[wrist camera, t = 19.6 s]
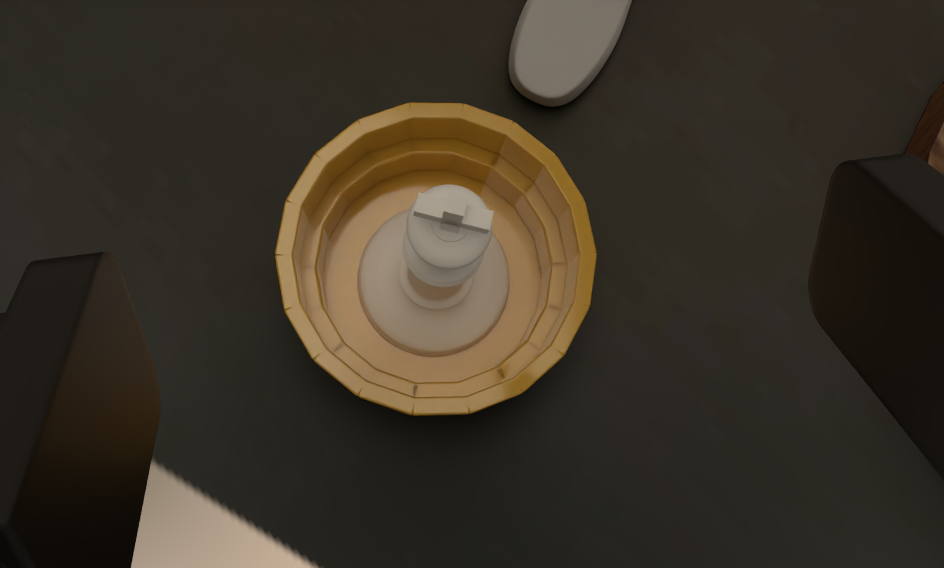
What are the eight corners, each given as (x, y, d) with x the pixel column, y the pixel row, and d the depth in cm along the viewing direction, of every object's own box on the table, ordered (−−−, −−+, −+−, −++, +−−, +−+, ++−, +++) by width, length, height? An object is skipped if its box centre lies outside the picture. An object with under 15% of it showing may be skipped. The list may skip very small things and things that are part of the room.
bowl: (384, 470, 27) (382, 480, 23) (244, 230, 28) (216, 195, 24) (615, 328, 29) (655, 311, 24) (475, 103, 30) (489, 48, 25)
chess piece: (490, 372, 27) (544, 346, 18) (340, 336, 27) (310, 288, 17) (523, 227, 28) (593, 124, 18) (378, 190, 28) (370, 66, 18)
